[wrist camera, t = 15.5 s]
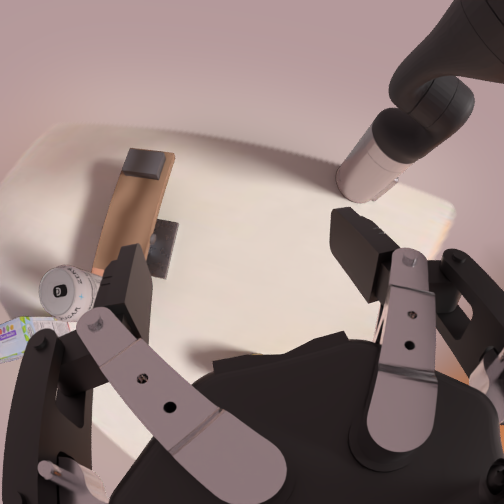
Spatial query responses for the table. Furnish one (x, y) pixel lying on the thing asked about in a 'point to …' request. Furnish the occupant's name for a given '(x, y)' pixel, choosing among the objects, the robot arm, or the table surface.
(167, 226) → the seesaw stand
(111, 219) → the seesaw beam
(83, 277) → the energy drink can
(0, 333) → the snack box
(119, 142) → the table surface
